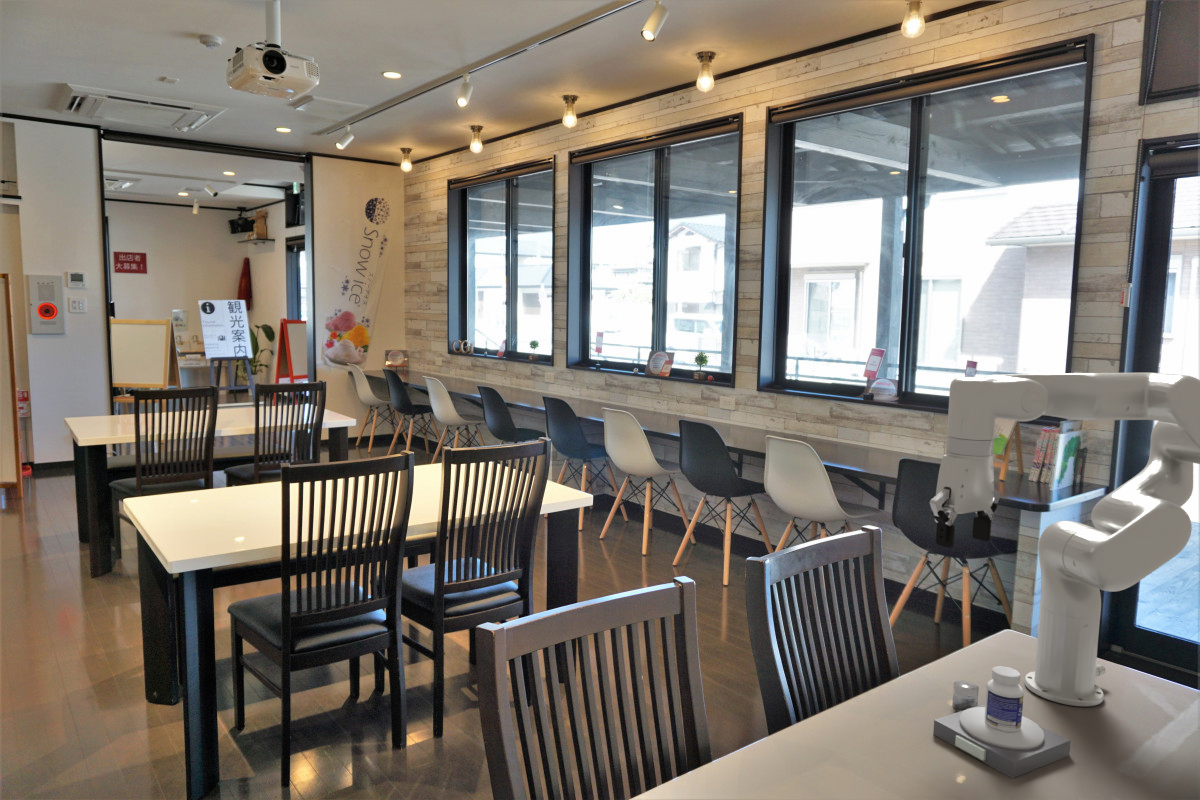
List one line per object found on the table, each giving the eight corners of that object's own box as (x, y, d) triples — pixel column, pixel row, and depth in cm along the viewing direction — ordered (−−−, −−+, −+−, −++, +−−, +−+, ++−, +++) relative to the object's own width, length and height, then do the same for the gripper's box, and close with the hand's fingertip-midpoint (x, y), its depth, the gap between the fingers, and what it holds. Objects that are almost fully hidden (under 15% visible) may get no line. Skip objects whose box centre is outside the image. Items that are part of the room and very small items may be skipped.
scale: (988, 715, 137) (990, 697, 137) (1069, 755, 125) (1070, 735, 124) (931, 735, 130) (932, 715, 130) (1010, 779, 118) (1011, 757, 117)
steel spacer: (962, 700, 143) (963, 678, 142) (982, 709, 139) (983, 688, 139) (947, 704, 141) (948, 683, 140) (967, 714, 137) (968, 692, 137)
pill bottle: (1025, 735, 124) (1029, 680, 123) (989, 730, 125) (993, 676, 124) (1015, 718, 129) (1019, 666, 128) (980, 714, 130) (984, 662, 130)
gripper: (982, 442, 147) (976, 532, 149) (917, 447, 139) (911, 543, 141) (1020, 448, 141) (1013, 542, 142) (954, 454, 133) (948, 554, 134)
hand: (963, 542), depth 142 cm, fingers open, 9 cm apart
